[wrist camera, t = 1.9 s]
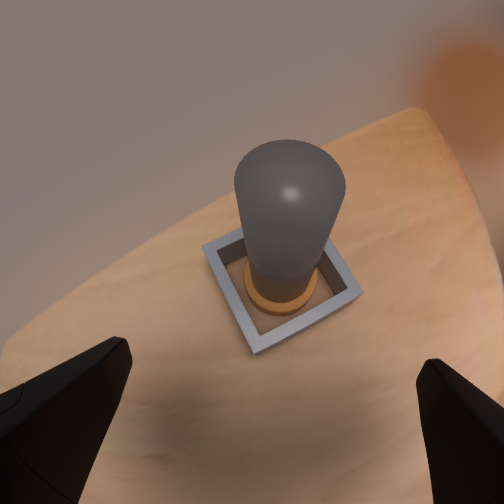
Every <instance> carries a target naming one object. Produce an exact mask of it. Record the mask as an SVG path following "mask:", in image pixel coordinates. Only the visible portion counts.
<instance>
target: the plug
mask: <svg viewBox="0 0 504 504" xmlns="http://www.w3.org/2000/svg"><path fill="white" fill-rule="evenodd" d="M234 185H235V192H236V198H237V203H238V209H239V214H240V220H241V225H242V230H243V236H244V241H245V247H246V252H247V257H248V261H247V263H246V266H245V270H244V281H245V285H246V289H247V293H248V296H249V298H250V300H251V301H252V303H253V304H254V305H255V306H256V307H257V308H258V309H260V310H261V311H263V312H264V313H267V314H269V315H274V316H286V315H290V314H293V313H295V312H297V311H299V310H300V309H301V308H302V307H304V306H305V304H306V303H307V302H308V300H309V299H310V297H311V295H312V293H313V291H314V289H315V286H316V283H317V269H316V266H317V264H318V261H319V259H320V257H321V254H322V252H323V249H324V247H325V245H326V242H327V240H328V237H329V235H330V232H331V230H332V227H333V225H334V222H335V220H336V217H337V215H338V212H339V210H340V207H341V204H342V202H343V199H344V195H345V189H346V185H345V178H344V175H343V172H342V170H341V168H340V166H339V165H338V164H337V162H336V161H335V160H334V159H333V158H332V157H331V156H330V155H329V154H328V153H327V152H325V151H324V150H322V149H320V148H318V147H317V146H314V145H312V144H309V143H306V142H302V141H297V140H277V141H272V142H268V143H265V144H263V145H260V146H258V147H256V148H254V149H253V150H252V151H250V152H249V153H248V154H247V155H246V156H245V157H244V158H243V159H242V160H241V162H240V163H239V165H238V167H237V169H236V172H235V177H234Z"/></svg>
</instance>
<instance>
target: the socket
mask: <svg viewBox="0 0 504 504" xmlns="http://www.w3.org/2000/svg"><path fill="white" fill-rule="evenodd" d="M201 247H202V249H203V251H204V253H205V255H206V258H207V260H208V262H209V264H210V266H211V268H212V270H213V272H214V274H215V277H216V279H217V281H218V283H219V285H220V287H221V289H222V291H223V293H224V295H225V297H226V299H227V301H228V303H229V305H230V307H231V309H232V311H233V313H234V315H235V317H236V319H237V321H238V323H239V325H240V327H241V329H242V331H243V333H244V335H245V337H246V339H247V341H248V343H249V345H250V347H251V349H252V351H253V353H254V354H255V355H256V356H257V355H259V354H261V353H263V352H265V351H267V350H269V349H271V348H273V347H275V346H277V345H279V344H281V343H282V342H284V341H286V340H288V339H290V338H292V337H294V336H296V335H297V334H299V333H301V332H303V331H305V330H307V329H308V328H310V327H312V326H314V325H316V324H317V323H319V322H321V321H323V320H324V319H326V318H328V317H329V316H331V315H333V314H335V313H336V312H338V311H340V310H341V309H343V308H345V307H346V306H348V305H350V304H351V303H353V302H354V301H355V300H356V299H357V298H358V297H359V296H361V295H362V294H363V293H364V292H363V290H362V288H361V287H360V285H359V284H358V282H357V280H356V279H355V277H354V276H353V274H352V272H351V271H350V269H349V268H348V266H347V264H346V263H345V261H344V260H343V258H342V257H341V255H340V254H339V252H338V250H337V249H336V247H335V246H334V244H333V243H332V241H331V240H330V238H329V237H328V240H327V242H326V245H325V247H324V249H323V252H322V254H321V257H320V259H319V261H318V264H317V266H318V268H319V269H320V271H321V272H322V274H323V276H324V277H325V279H326V281H327V282H328V284H329V286H330V287H331V289H332V291H333V292H334V294H335V296H334V297H332V298H330V299H328V300H327V301H325V302H323V303H321V304H320V305H318V306H316V307H314V308H312V309H311V310H309V311H307V312H305V313H303V314H302V315H300V316H298V317H296V318H294V319H292V320H290V321H289V322H287V323H285V324H283V325H281V326H279V327H277V328H275V329H273V330H271V331H269V332H267V333H265V334H263V335H261V336H259V334H258V332H257V330H256V328H255V326H254V324H253V322H252V320H251V318H250V316H249V314H248V313H247V311H246V309H245V307H244V305H243V303H242V301H241V299H240V297H239V295H238V293H237V291H236V289H235V287H234V285H233V283H232V281H231V279H230V277H229V275H228V273H227V271H226V269H225V267H224V265H226V264H228V263H230V262H232V261H234V260H237V259H239V258H241V257H243V256H245V255H247V252H246V247H245V241H244V236H243V230H242V227H240V228H238V229H236V230H234V231H232V232H229V233H227V234H225V235H223V236H221V237H219V238H217V239H215V240H213V241H211V242H208V243H206V244H204V245H202V246H201Z"/></svg>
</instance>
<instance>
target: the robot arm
mask: <svg viewBox="0 0 504 504" xmlns="http://www.w3.org/2000/svg"><path fill="white" fill-rule="evenodd" d="M131 367H132V356H131V352H130V349H129V345H128V342H127V340H126V339H124V338H121V337H116V336H114V337H111V338H109V339H107V340H106V341H104V342H102V343H100V344H98V345H96V346H94V347H92V348H90V349H88V350H86V351H85V352H83V353H81V354H79V355H77V356H75V357H73V358H71V359H69V360H67V361H65V362H63V363H61V364H59V365H58V366H56V367H54V368H52V369H50V370H48V371H46V372H44V373H42V374H40V375H38V376H36V377H34V378H32V379H30V380H28V381H26V382H25V383H22V384H20V385H18V386H16V387H14V388H12V389H10V390H8V391H6V392H4V393H2V394H0V504H78V502H79V499H80V497H81V494H82V491H83V489H84V486H85V484H86V481H87V478H88V476H89V473H90V471H91V468H92V466H93V463H94V461H95V459H96V456H97V454H98V451H99V449H100V447H101V444H102V442H103V440H104V437H105V435H106V433H107V430H108V428H109V426H110V423H111V421H112V419H113V417H114V415H115V412H116V410H117V408H118V405H119V403H120V400H121V397H122V394H123V391H124V388H125V385H126V382H127V379H128V376H129V373H130V370H131ZM416 388H417V395H418V403H419V411H420V420H421V427H422V432H423V437H424V442H425V447H426V453H427V458H428V464H429V471H430V478H431V485H432V494H433V503H434V504H504V408H503V407H502V406H500V405H499V404H498V403H496V402H495V401H494V400H493V399H491V398H490V397H489V396H488V395H486V394H485V393H484V392H482V391H481V390H480V389H478V388H477V387H476V386H475V385H473V384H472V383H471V382H469V381H468V380H467V379H465V378H464V377H463V376H461V375H460V374H459V373H458V372H456V371H455V370H454V369H452V368H451V367H450V366H448V365H447V364H446V363H444V362H443V361H442V360H440V359H438V358H435V359H428V360H427V361H425V363H424V365H423V367H422V369H421V371H420V373H419V375H418V377H417V380H416Z"/></svg>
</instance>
